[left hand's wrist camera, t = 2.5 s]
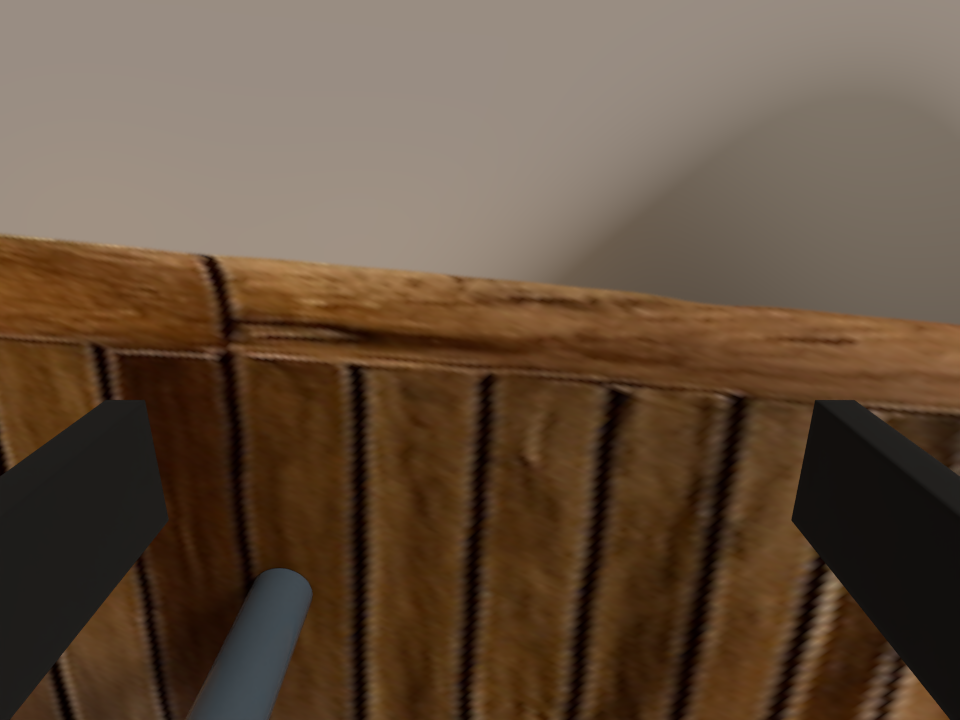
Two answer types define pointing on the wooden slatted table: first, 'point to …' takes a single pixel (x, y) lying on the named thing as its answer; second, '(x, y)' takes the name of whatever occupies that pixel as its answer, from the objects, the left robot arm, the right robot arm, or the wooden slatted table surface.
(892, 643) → the left robot arm
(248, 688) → the jar
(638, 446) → the wooden slatted table surface
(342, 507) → the wooden slatted table surface
